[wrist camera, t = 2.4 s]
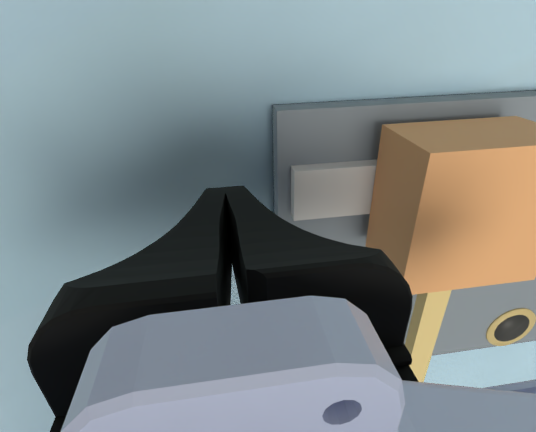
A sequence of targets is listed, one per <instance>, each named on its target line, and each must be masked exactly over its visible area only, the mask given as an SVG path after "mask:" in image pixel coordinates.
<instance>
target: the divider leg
mask: <svg viewBox="0 0 536 432" xmlns="http://www.w3.org/2000/svg"><path fill="white" fill-rule="evenodd" d="M365 247H369V248H375V249H381V250H382V251H383V252H384V253H385V254H386V255H387V257H388V258H389V259H390V260H391V261H392V262H393V264H394V265H395V266H396V268H397V269H398V270H399V272H400V273H401V275H402V276H403V277H404V279H405V280H406V281H407V283H408V284H409V286H410V289H411V293H412V295H415V294H417V297H416V301H415V305H414V309H413V313H412V317H411V321H410V325H409V329H408V334H407V338H406V342H405V346H406V348H407V349H408V351H409V353H410V354H411V357H412V364H411V365H409V366H410V368H411V369H412V371H413V373H414V375H415V376H416V378H417V380H418V381H419V382H424V378H425V375H426V372H427V369H428V365H429V362H430V359H431V356H432V352H433V349H434V346H435V343H436V339H437V336H438V333H439V330H440V326H441V323H442V320H443V317H444V313H445V310H446V307H447V304H448V300H449V297H450V294H451V291H452V290H456V289H464V288H472V287H480V286H488V285H496V284H504V283H512V282H520V281H528V280H535V277H536V122H534V121H531V120H528V119H525V118H521V117H518V116H506V117H491V118H475V119H459V120H444V121H428V122H412V123H397V124H382V129H381V136H380V144H379V151H378V158H377V165H376V173H375V180H374V187H373V195H372V202H371V209H370V216H369V224H368V231H367V238H366V245H365Z"/></svg>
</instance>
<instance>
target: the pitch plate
mask: <svg viewBox="0 0 536 432" xmlns="http://www.w3.org/2000/svg"><path fill="white" fill-rule="evenodd" d="M506 116H518V117H521V118H525V119H528V120H531V121H534V122H536V90H533V91H514V92H496V93H478V94H460V95H442V96H424V97H406V98H388V99H370V100H352V101H334V102H315V103H297V104H279V105H273V163H274V213H275V214H276V215H277V216H279V217H280V218H282V219H284V220H285V221H287V222H289V223H291V224H293V225H295V226H297V227H299V228H301V229H303V230H305V231H308V232H310V233H313V234H316V235H318V236H321V237H324V238H327V239H331V240H335V241H338V242H342V243H346V244H351V245H357V246H363V247H365V245H366V238H367V231H368V224H369V216H370V209H371V202H372V195H373V187H374V180H375V173H376V165H377V158H378V151H379V144H380V136H381V129H382V124H397V123H412V122H428V121H444V120H459V119H475V118H491V117H506ZM412 296H413V299H412V310H411V314H410V318H409V323H408V327H407V331H406V335H405V339H404V344H405V342H406V338H407V334H408V329H409V325H410V321H411V317H412V313H413V309H414V305H415V301H416V297H417V294H415V295H412ZM529 341H536V277H535V280H528V281H520V282H512V283H504V284H496V285H488V286H480V287H472V288H464V289H456V290H452V291H451V294H450V297H449V300H448V304H447V307H446V310H445V313H444V317H443V320H442V323H441V326H440V330H439V333H438V336H437V339H436V343H435V346H434V349H433V352H432V355H439V354H446V353H453V352H460V351H467V350H474V349H481V348H487V347H494V346H504V345H509V344H515V343H522V342H529Z"/></svg>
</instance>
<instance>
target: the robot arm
mask: <svg viewBox="0 0 536 432" xmlns="http://www.w3.org/2000/svg"><path fill="white" fill-rule="evenodd" d="M232 265H233V270H234V275H235V279H236V284H237V289H238V293H239V298H240V303H241V304H236V305H230V302H231V273H232ZM412 299H413V296H412V293H411V289H410V286H409V284H408V283H407V281H406V280H405V279H404V277H403V276H402V275H401V273H400V272H399V270H398V269H397V268H396V266H395V265H394V264H393V262H392V261H391V260H390V259H389V258H388V257H387V255H386V254H385V253H384V252H383V251H382V250H381V249H375V248H369V247H363V246H357V245H351V244H346V243H342V242H338V241H335V240H331V239H327V238H324V237H321V236H318V235H316V234H313V233H310V232H308V231H305V230H303V229H301V228H299V227H297V226H295V225H293V224H291V223H289V222H287V221H285V220H284V219H282V218H280V217H279V216H277V215H276V214H275V213H273V212H272V211H270V210H269V209H268V208H266V207H265V206H264V205H263V204H262V203H261V202H259V201H258V200H257V199H256V198H255V197H254V196H253V195H252V194H251V193H250V192H249V191H248V190H247V189H246V188H245V187H244V186H233V187H221V188H208V189H206V190H205V191H204V192H203V193H202V195H201V196H200V198H199V199H198V201H197V202H196V203H195V205H194V206H193V207H192V208H191V209H190V211H189V212H188V213H187V214H186V215H185V217H184V218H183V219H182V220H181V221H180V222H179V223H178V224H177V225H176V226H175V227H173V228H172V229H171V230H170V231H169V232H168V233H166V234H165V235H164V236H162V237H161V238H160V239H158V240H157V241H156V242H154V243H152V244H151V245H149V246H148V247H146V248H144V249H143V250H141V251H140V252H138V253H136V254H134V255H133V256H131V257H129V258H127V259H125V260H123V261H121V262H119V263H116V264H114V265H112V266H110V267H108V268H105V269H103V270H101V271H98V272H95V273H92V274H90V275H87V276H84V277H82V278H79V279H76V280H73V281H70V282H67V283H64V285H63V286H62V288H61V289H60V291H59V293H58V294H57V296H56V297H55V299H54V300H53V302H52V304H51V306H50V307H49V309H48V311H47V313H46V315H45V317H44V318H43V320H42V322H41V324H40V326H39V327H38V329H37V331H36V333H35V335H34V337H33V338H32V340H31V342H30V344H29V347H28V357H27V361H28V364H29V367H30V370H31V373H32V375H33V377H34V378H35V380H36V382H37V384H38V386H39V388H40V389H41V391H42V393H43V395H44V397H45V398H46V400H47V402H48V404H49V406H50V407H51V409H52V411H53V413H54V415H55V416H56V418H55V420H54V423H53V425H52V428H51V430H50V432H536V380H530V381H524V382H518V383H512V384H505V385H499V386H493V387H487V388H474V387H464V386H454V385H444V384H435V383H425V382H419V381H418V380H417V378H416V376H415V375H414V373H413V371H412V369H411V368H410V366H409V365H411V364H412V357H411V354H410V353H409V351H408V349H407V348H406V346H405V344H404V339H405V335H406V331H407V327H408V323H409V318H410V314H411V310H412Z"/></svg>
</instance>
